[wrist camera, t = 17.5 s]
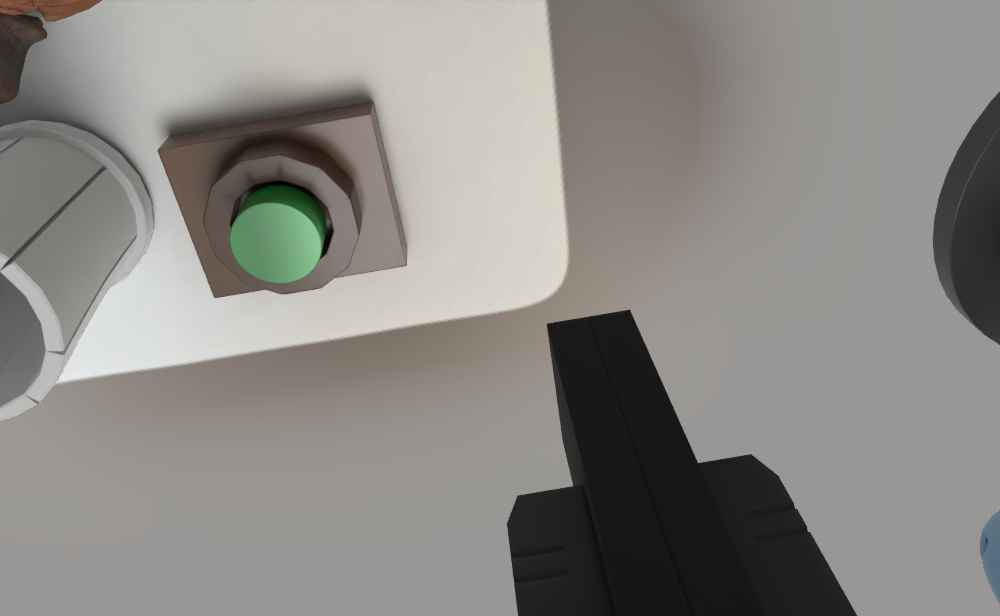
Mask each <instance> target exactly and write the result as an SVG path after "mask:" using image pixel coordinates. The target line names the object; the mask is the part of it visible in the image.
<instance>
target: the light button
mask: <svg viewBox="0 0 1000 616" xmlns="http://www.w3.org/2000/svg"><path fill="white" fill-rule="evenodd" d="M326 232H327V224H326V218H325V215H324V213H323V211H322V209H321V207H320V206H319V204H318V203H317V202H316V201H315V200H314V199H313V198H312V197H311V196H310V195H308V194H307V193H306V192H304V191H302V190H300V189H298V188H295V187H292V186H288V185H270V186H265V187H263V188H260V189H258V190H256V191H255V192H253V193H252V194H251V195H250V196H249V197H248V198H247V199H246V200H245V202H244V203H243V205H242V207H241V209H240V211H239V213H238V215H237V217H236V219H235V221H234V223H233V225H232V227H231V230H230V247H231V250H232V253H233V255H234V257H235V259H236V261H237V262H238V263H239V265H240V266H241V267H242V268H243V269H244V270H245V271H246V272H248V273H249V274H251V275H252V276H254V277H256V278H258V279H260V280H263V281H266V282H270V283H290V282H294V281H297V280H300V279H302V278H303V277H305V276H307V275H308V274H309V273H310V272H311V271H312V270H313V269H314V268H315V267H316V265H317V263H318V262H319V259H320V256H321V253H322V249H323V245H324V241H325V237H326Z"/></svg>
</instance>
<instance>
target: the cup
mask: <svg viewBox="0 0 1000 616" xmlns="http://www.w3.org/2000/svg"><path fill="white" fill-rule="evenodd" d="M153 229H154V224H153V213H152V203H151V200H150V198H149V196H148V193H147V191H146V189H145V187H144V184H143V182H142V180H141V178H140V176H139V175H138V174H137V172H136V171H135V170H134V169H133V168H132V167H131V165H130V164H129V163H128V162H127V161H126V159H125V158H124V157H123V156H122V155H121V154H120V153H119V152H118V151H116V150H115V149H114V148H112V147H111V146H109V145H108V144H106V143H105V142H104V141H102V140H101V139H99V138H98V137H96V136H95V135H94V134H91V133H89V132H86V131H83V130H81V129H78V128H75V127H73V126H70V125H67V124H65V123H61V122H50V121H40V120H27V121H23V122H18V123H13V124H9V125H4V126H2V127H0V420H3V419H8V418H13V417H15V416H17V415H18V414H20V413H22V412H24V411H26V410H27V409H29V408H31V407H33V406H35V405H36V404H38V403H39V401H41V400H42V399H43V398H44V397H45V395H46V394H47V393H48V392H49V391H50V389H51V388H52V387H53V386H54V385H55V383H56V382H57V381H58V379H59V377H60V375H61V373H62V372H63V370H64V368H65V366H66V364H67V362H68V360H69V358H70V356H71V354H72V352H73V350H74V349H75V347H76V345H77V343H78V341H79V339H80V337H81V335H82V334H83V332H84V330H85V328H86V326H87V325H88V323H89V321H90V319H91V318H92V316H93V314H94V312H95V311H96V309H97V307H98V305H99V304H100V302H101V300H102V299H103V297H104V296H105V294H106V293H107V291H108V290H109V288H110V287H111V286H113V285H115V284H117V283H118V282H120V281H122V280H123V279H125V278H126V277H127V276H128V275H129V274H130V272H131V271H132V270H133V269H134V267H135V266H136V265H137V264H138V262H139V261H140V260H141V258H142V257H143V256H144V254H145V253H146V251H147V250H148V246H149V243H150V239H151V236H152V232H153Z"/></svg>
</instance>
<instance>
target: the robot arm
mask: <svg viewBox="0 0 1000 616" xmlns="http://www.w3.org/2000/svg"><path fill="white" fill-rule="evenodd" d="M547 329H548V336H549V342H550V350H551V358H552V365H553V373H554V380H555V387H556V394H557V402H558V409H559V416H560V423H561V431H562V438H563V443H564V448H565V452H566V457H567V461H568V465H569V469H570V474H571V478H572V482H573V487H566V488H560V489H555V490H548V491H542V492H536V493H531V494H525V495H519V496H517V499H516V502H515V504H514V507H513V509H512V512H511V514H510V517H509V520H508V522H507V527H508V536H509V544H510V552H511V560H512V569H513V577H514V585H515V593H516V602H517V610H518V616H857V615H856V613H855V611H854V609H853V608H852V606H851V604H850V602H849V601H848V599H847V597H846V595H845V593H844V592H843V590H842V588H841V587H840V585H839V583H838V581H837V579H836V577H835V576H834V574H833V572H832V570H831V569H830V567H829V565H828V563H827V562H826V560H825V558H824V556H823V554H822V553H821V551H820V549H819V547H818V546H817V544H816V542H815V540H814V538H813V537H812V535H811V533H810V532H808V531H807V526H806V525H805V522H804V521H803V519H802V517H801V515H800V514H799V512H798V510H797V509H795V507H794V503H793V501H792V500H791V498H790V496H789V494H788V492H787V491H786V489H785V487H784V485H783V483H782V482H781V480H780V478H779V476H778V475H776V474H775V473H774V472H773V471H771V470H770V469H769V468H768V467H766V466H765V465H764V464H762V463H761V462H760V461H759V460H758V459H756V458H755V457H754V456H752V455H751V454H750V455H744V456H738V457H733V458H727V459H720V460H715V461H709V462H703V463H698V462H697V460H696V458H695V455H694V453H693V451H692V449H691V446H690V444H689V442H688V440H687V438H686V435H685V433H684V431H683V429H682V426H681V424H680V422H679V420H678V417H677V415H676V413H675V411H674V408H673V406H672V404H671V401H670V399H669V397H668V395H667V392H666V390H665V388H664V386H663V383H662V381H661V379H660V377H659V375H658V372H657V370H656V368H655V366H654V363H653V361H652V359H651V357H650V354H649V352H648V350H647V347H646V345H645V343H644V341H643V338H642V336H641V334H640V332H639V329H638V327H637V325H636V323H635V320H634V318H633V316H632V314H631V311H630V310H626V311H620V312H614V313H608V314H602V315H596V316H590V317H584V318H578V319H572V320H566V321H560V322H554V323H549V324H547ZM980 547H981V548H980V553H981V557H982V560H983V568H984V571H985V574H986V576H987V579H988V582H989V584H990V586H991V588H992V590H993V592H994V594H995V596H996V598H997V600H998V602H999V604H1000V510H999V511H998V512H997V513H996V514H995V515H993V516H992V517H991V519H990V520H989V521H988V522H987V524H986V525H985V527H984V529H983V531H982V534H981V539H980Z"/></svg>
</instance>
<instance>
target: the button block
mask: <svg viewBox="0 0 1000 616" xmlns="http://www.w3.org/2000/svg"><path fill="white" fill-rule="evenodd" d="M158 153H159V155H160V158H161V161H162V163H163V166H164V168H165V171H166V174H167V176H168V179H169V181H170V184H171V187H172V189H173V192H174V194H175V197H176V200H177V202H178V205H179V207H180V210H181V213H182V215H183V218H184V220H185V223H186V226H187V228H188V231H189V233H190V236H191V239H192V241H193V244H194V246H195V249H196V252H197V254H198V257H199V259H200V262H201V265H202V267H203V270H204V272H205V275H206V278H207V280H208V283H209V285H210V288H211V291H212V293H213V296H214V298H219V297H225V296H230V295H236V294H242V293H248V292H254V291H260V290H269V291H272V292H276V293H279V294H290V293H296V292H301V291H307V290H313V289H319V288H322V287H324V286H325V285H326V284H327V283H329V282H330V281H331V280H332V279H334V278H337V277H343V276H349V275H355V274H361V273H367V272H373V271H379V270H385V269H390V268H396V267H402V266H406V265H407V244H406V240H405V236H404V231H403V227H402V223H401V218H400V214H399V210H398V205H397V201H396V197H395V192H394V188H393V184H392V179H391V175H390V171H389V166H388V162H387V158H386V153H385V149H384V145H383V140H382V136H381V132H380V127H379V123H378V118H377V114H376V110H375V105H374V102H370V103H364V104H358V105H352V106H346V107H340V108H335V109H329V110H323V111H317V112H311V113H305V114H299V115H293V116H287V117H281V118H276V119H270V120H264V121H258V122H252V123H246V124H240V125H234V126H228V127H222V128H217V129H211V130H205V131H199V132H193V133H187V134H181V135H175V136H170V137H169V138H168V139H167V140H166V141H165V142H164V143H163V144H162V146H161V147H160V148H159V149H158ZM270 185H288V186H292V187H295V188H298V189H300V190H302V191H304V192H306V193H307V194H308V195H310V196H311V197H312V198H313V199H314V200H315V201H316V202H317V203H318V204H319V206H320V207H321V209H322V211H323V213H324V215H325V218H326V224H327V232H326V237H325V241H324V245H323V249H322V253H321V256H320V259H319V262H318V263H317V265H316V267H315V268H314V269H313V270H312V271H311V272H310V273H309V274H308V275H307V276H305V277H303V278H302V279H300V280H297V281H294V282H290V283H270V282H266V281H263V280H260V279H258V278H256V277H254V276H252V275H251V274H249V273H248V272H246V271H245V270H244V269H243V268H242V267H241V266H240V265H239V263H238V262H237V261H236V259H235V257H234V255H233V253H232V250H231V247H230V230H231V227H232V225H233V223H234V221H235V219H236V217H237V215H238V213H239V211H240V209H241V207H242V205H243V203H244V202H245V200H246V199H247V198H248V197H249V196H250V195H251V194H252V193H253V192H255V191H256V190H258V189H260V188H263V187H265V186H270Z"/></svg>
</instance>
